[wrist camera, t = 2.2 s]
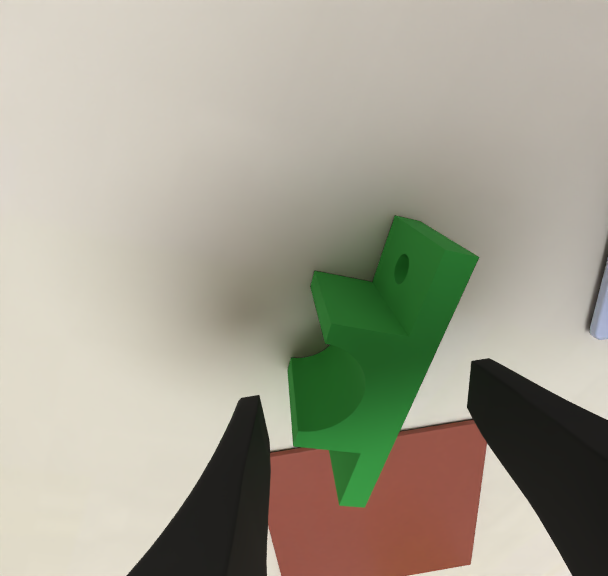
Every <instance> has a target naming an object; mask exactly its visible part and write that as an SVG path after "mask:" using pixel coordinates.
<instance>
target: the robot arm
mask: <svg viewBox="0 0 608 576" xmlns="http://www.w3.org/2000/svg"><path fill="white" fill-rule="evenodd" d="M590 334H591V335H592V336H593V337H595V338H597V339H599V340H604V339H608V259H607V263H606V267H605V271H604V275H603V279H602V283H601V287H600V291H599V295H598V299H597V303H596V306H595V310H594V314H593V318H592V322H591V326H590ZM467 408H468V410H469V412H470V414H471V416H472V418H473V420H474V422H475V424H476V426H477V427H478V429H479V431H480V433H481V435H482V436H483V438H484V439H485V441H486V442H487V444H488V445H489V446H490V448H491V449H492V451H493V452H494V453H495V455H496V456H497V458H498V459H499V461H500V462H501V463H502V465H503V466H504V468H505V469H506V470H507V472H508V473H509V475H510V476H511V477H512V479H513V480H514V482H515V483H516V484H517V486H518V487H519V489H520V490H521V491H522V493H523V494H524V496H525V497H526V498H527V500H528V501H529V503H530V504H531V506H532V507H533V509H534V510H535V512H536V514H537V515H538V517H539V518H540V520H541V522H542V523H543V525H544V527H545V529H546V530H547V532H548V534H549V535H550V537H551V539H552V540H553V542H554V544H555V546H556V547H557V549H558V551H559V553H560V554H561V556H562V558H563V560H564V562H565V563H566V565H567V567H568V569H569V570H570V572H571V574H572V576H608V420H606V419H604V418H602V417H600V416H598V415H596V414H594V413H592V412H589V411H587V410H585V409H583V408H581V407H579V406H577V405H575V404H573V403H571V402H569V401H567V400H565V399H563V398H561V397H560V396H558V395H556V394H554V393H552V392H550V391H548V390H546V389H545V388H543V387H541V386H539V385H537V384H535V383H534V382H532V381H530V380H528V379H526V378H525V377H523V376H521V375H519V374H517V373H516V372H514V371H512V370H510V369H508V368H507V367H505V366H503V365H501V364H499V363H497V362H495V361H493V360H491V359H489V358H488V359H481V360H475V361H471V371H470V381H469V392H468V402H467ZM270 479H271V462H270V442H269V436H268V432H267V427H266V423H265V418H264V414H263V409H262V405H261V400H260V396H259V395H257V396H250V397H244V398H241V399H240V400H239V401H238V403H237V406H236V408H235V411H234V413H233V416H232V418H231V420H230V422H229V424H228V427H227V429H226V431H225V433H224V435H223V437H222V439H221V441H220V443H219V445H218V447H217V449H216V451H215V453H214V454H213V456H212V458H211V460H210V461H209V463H208V465H207V467H206V468H205V470H204V472H203V474H202V475H201V477H200V479H199V480H198V482H197V484H196V485H195V487H194V488H193V490H192V491H191V493H190V494H189V496H188V498H187V499H186V500H185V502H184V503H183V505H182V506H181V508H180V509H179V511H178V512H177V513H176V515H175V516H174V518H173V519H172V520H171V522H170V523H169V524H168V526H167V527H166V528H165V530H164V531H163V532H162V534H161V535H160V536H159V538H158V539H157V540H156V541H155V543H154V544H153V545H152V546H151V548H150V549H149V550H148V551H147V552H146V554H145V555H144V556H143V557H142V558H141V559H140V561H139V562H138V563H137V564H136V565H135V567H134V568H133V569H132V570H131V571H130V572H129V574H128V575H127V576H267V566H266V559H267V533H268V515H269V498H270Z"/></svg>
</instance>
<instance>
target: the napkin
mask: <svg viewBox="0 0 608 576" xmlns="http://www.w3.org/2000/svg"><path fill="white" fill-rule="evenodd" d="M486 446H487V442H486V441H485V439H484V438H483V436H482V435H481V433H480V431H479V429H478V427H477V426H476V424H475V422H474V420H468V421H462V422H456V423H450V424H443V425H437V426H431V427H425V428H419V429H413V430H407V431H400V432H399V434H398V436H397V438H396V441H395V443H394V445H393V447H392V449H391V451H390V454H389V456H388V458H387V460H386V462H385V465H384V467H383V469H382V471H381V473H380V476H379V478H378V480H377V482H376V484H375V486H374V489H373V491H372V493H371V495H370V497H369V500H368V502H367V504H366V506H365V508H362V507H349V506H339V502H338V497H337V492H336V486H335V481H334V475H333V470H332V465H331V459H330V454H329V450H322V449H313V448H303V447H302V448H296V449H290V450H284V451H278V452H272V453H270V462H271V479H270V498H269V515H268V526H269V530H270V534H271V538H272V542H273V545H274V549H275V553H276V557H277V561H278V565H279V568H280V572H281V576H408V575H414V574H419V573H425V572H431V571H436V570H442V569H448V568H453V567H459V566H465V565H470V564H471V558H472V551H473V543H474V536H475V528H476V521H477V513H478V506H479V498H480V491H481V483H482V476H483V468H484V461H485V453H486Z"/></svg>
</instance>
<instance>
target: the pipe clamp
mask: <svg viewBox="0 0 608 576" xmlns="http://www.w3.org/2000/svg"><path fill="white" fill-rule="evenodd" d="M478 259H479V257H478V256H476V255H475V254H473V253H471V252H470V251H468V250H467V249H465V248H463V247H462V246H460V245H458V244H457V243H455V242H453V241H452V240H450V239H448V238H447V237H445V236H444V235H442V234H440V233H439V232H437V231H435V230H434V229H432V228H430V227H429V226H427V225H426V224H424V223H422V222H421V221H417V220H413V219H408V218H404V217H400V216H396V215H395V217H394V220H393V223H392V226H391V228H390V231H389V234H388V237H387V240H386V243H385V246H384V249H383V252H382V255H381V258H380V261H379V263H378V266H377V269H376V272H375V275H374V278H373V281H372V282H370V281H365V280H360V279H355V278H350V277H345V276H339V275H334V274H329V273H324V272H319V271H314V274H313V278H312V282H311V286H310V287H311V291H312V295H313V299H314V303H315V307H316V310H317V314H318V318H319V322H320V326H321V330H322V333H323V337H324V341H325V344H329V345H330V346H329V347H327V348H326V349H325V350H323V351H322V352H320V353H318V354H316V355H313V356H309V357H304V358H292V357H291V359H290V363H289V367H288V382H289V395H290V408H291V422H292V435H293V446H294V447H303V448H313V449H322V450H329V454H330V459H331V465H332V470H333V475H334V481H335V486H336V492H337V497H338V502H339V506H349V507H362V508H365V506H366V504H367V502H368V500H369V497H370V495H371V493H372V491H373V489H374V486H375V484H376V482H377V480H378V478H379V476H380V473H381V471H382V469H383V467H384V465H385V462H386V460H387V458H388V456H389V454H390V451H391V449H392V447H393V445H394V443H395V441H396V438H397V436H398V434H399V432H400V430H401V427H402V425H403V423H404V421H405V419H406V417H407V414H408V412H409V410H410V408H411V406H412V403H413V401H414V399H415V397H416V395H417V392H418V390H419V388H420V386H421V384H422V382H423V379H424V377H425V375H426V373H427V371H428V368H429V366H430V364H431V362H432V360H433V357H434V355H435V353H436V351H437V349H438V347H439V344H440V342H441V340H442V338H443V336H444V333H445V331H446V329H447V327H448V325H449V322H450V320H451V318H452V316H453V314H454V312H455V309H456V307H457V305H458V303H459V301H460V298H461V296H462V294H463V292H464V290H465V287H466V285H467V283H468V281H469V279H470V277H471V274H472V272H473V270H474V268H475V266H476V263H477V261H478Z"/></svg>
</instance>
